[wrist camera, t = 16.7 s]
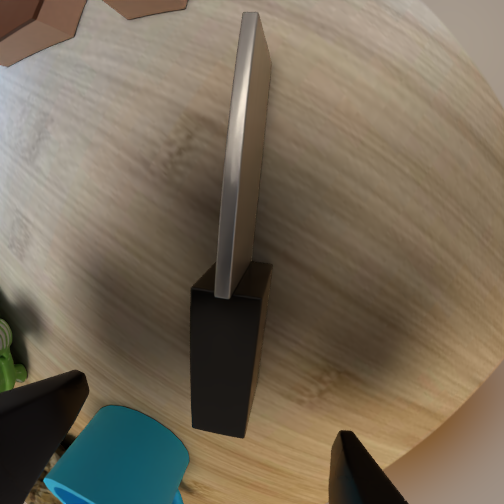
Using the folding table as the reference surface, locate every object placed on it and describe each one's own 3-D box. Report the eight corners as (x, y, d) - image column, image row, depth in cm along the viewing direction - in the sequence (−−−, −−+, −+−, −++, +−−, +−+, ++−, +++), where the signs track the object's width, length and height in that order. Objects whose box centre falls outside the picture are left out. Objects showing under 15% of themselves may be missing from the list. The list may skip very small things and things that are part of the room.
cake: (107, -46, 9) (78, -71, 6) (74, 37, 11) (31, 18, 8) (36, -11, 10) (7, -24, 7) (7, 67, 12) (-29, 60, 9)
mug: (79, 406, 18) (25, 468, 10) (149, 401, 16) (89, 492, 9) (158, 490, 20) (129, 550, 12) (230, 493, 18) (209, 568, 10)
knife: (256, 386, 15) (242, 447, 10) (213, 378, 15) (188, 435, 11) (293, 64, 11) (290, 12, 6) (239, 61, 11) (212, 12, 7)
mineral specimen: (36, 392, 19) (-25, 449, 10) (138, 479, 20) (100, 551, 11) (22, 429, 23) (-17, 469, 14) (96, 492, 24) (66, 539, 15)
